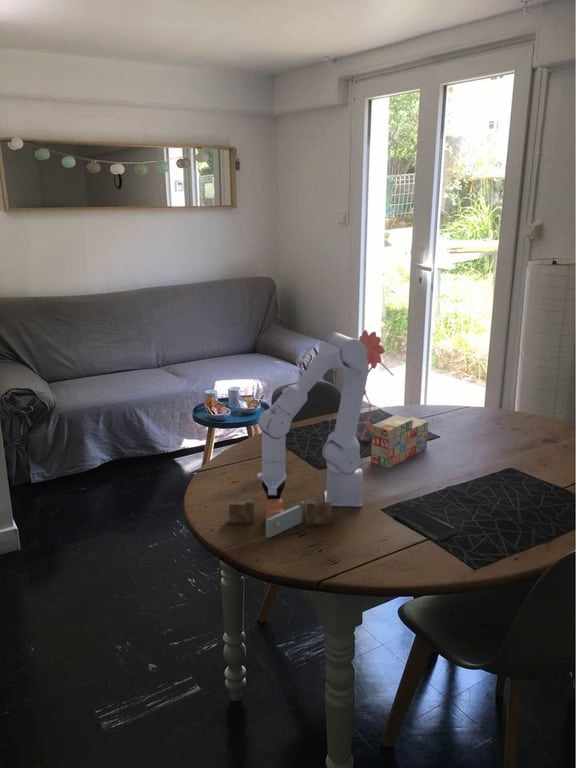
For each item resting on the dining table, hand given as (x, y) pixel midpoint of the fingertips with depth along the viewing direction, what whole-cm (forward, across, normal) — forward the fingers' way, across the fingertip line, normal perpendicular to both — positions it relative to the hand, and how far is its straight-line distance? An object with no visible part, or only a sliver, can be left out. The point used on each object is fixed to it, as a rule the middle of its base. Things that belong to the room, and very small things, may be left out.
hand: (273, 508), depth 158 cm
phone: (+2, +3, +37) cm, 37 cm away
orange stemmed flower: (+2, -59, +29) cm, 66 cm away
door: (+2, +7, +3) cm, 8 cm away
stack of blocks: (+2, -39, +37) cm, 54 cm away
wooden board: (+2, +3, +1) cm, 4 cm away
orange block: (+2, +4, 0) cm, 4 cm away
